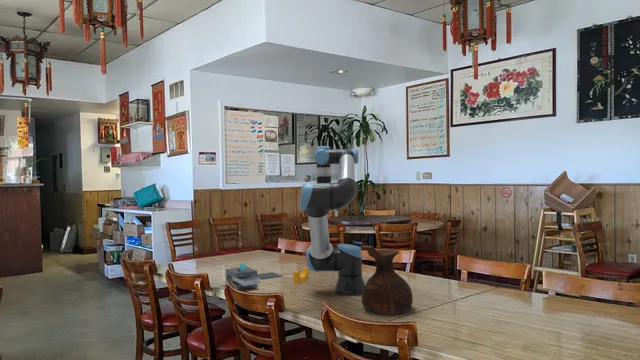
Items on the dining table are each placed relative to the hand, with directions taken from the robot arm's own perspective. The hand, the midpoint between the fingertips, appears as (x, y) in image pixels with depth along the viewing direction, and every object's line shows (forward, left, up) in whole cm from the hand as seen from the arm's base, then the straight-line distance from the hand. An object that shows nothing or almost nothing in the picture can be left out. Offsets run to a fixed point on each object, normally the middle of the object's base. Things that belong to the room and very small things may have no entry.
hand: (324, 216), depth 257 cm
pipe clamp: (+17, +6, -37) cm, 41 cm away
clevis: (+26, +36, -37) cm, 58 cm away
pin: (+26, +36, -37) cm, 57 cm away
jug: (-57, +7, -37) cm, 68 cm away
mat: (+40, +14, -37) cm, 56 cm away
